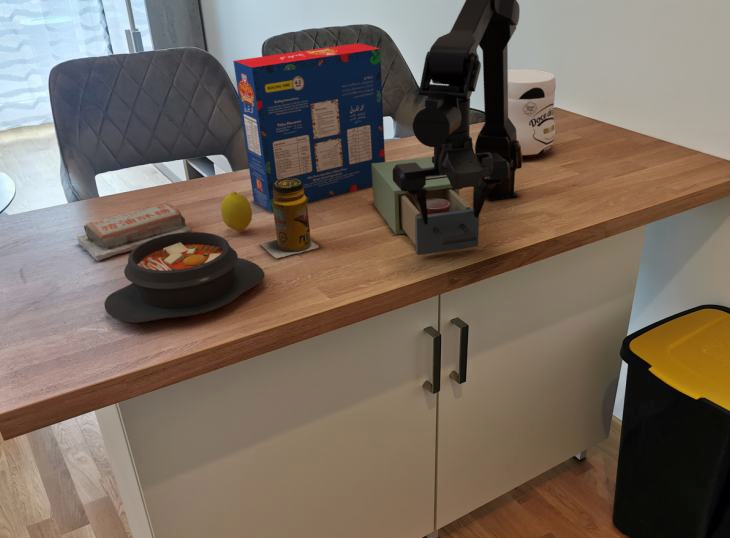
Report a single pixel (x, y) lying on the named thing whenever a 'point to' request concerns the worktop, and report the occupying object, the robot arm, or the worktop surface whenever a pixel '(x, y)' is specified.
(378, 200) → the cabinet
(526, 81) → the milk container
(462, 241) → the drawer
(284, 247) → the condiment
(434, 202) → the can
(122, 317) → the casserole
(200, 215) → the worktop surface
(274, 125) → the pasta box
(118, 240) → the packaged product
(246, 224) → the lemon
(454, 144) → the robot arm
